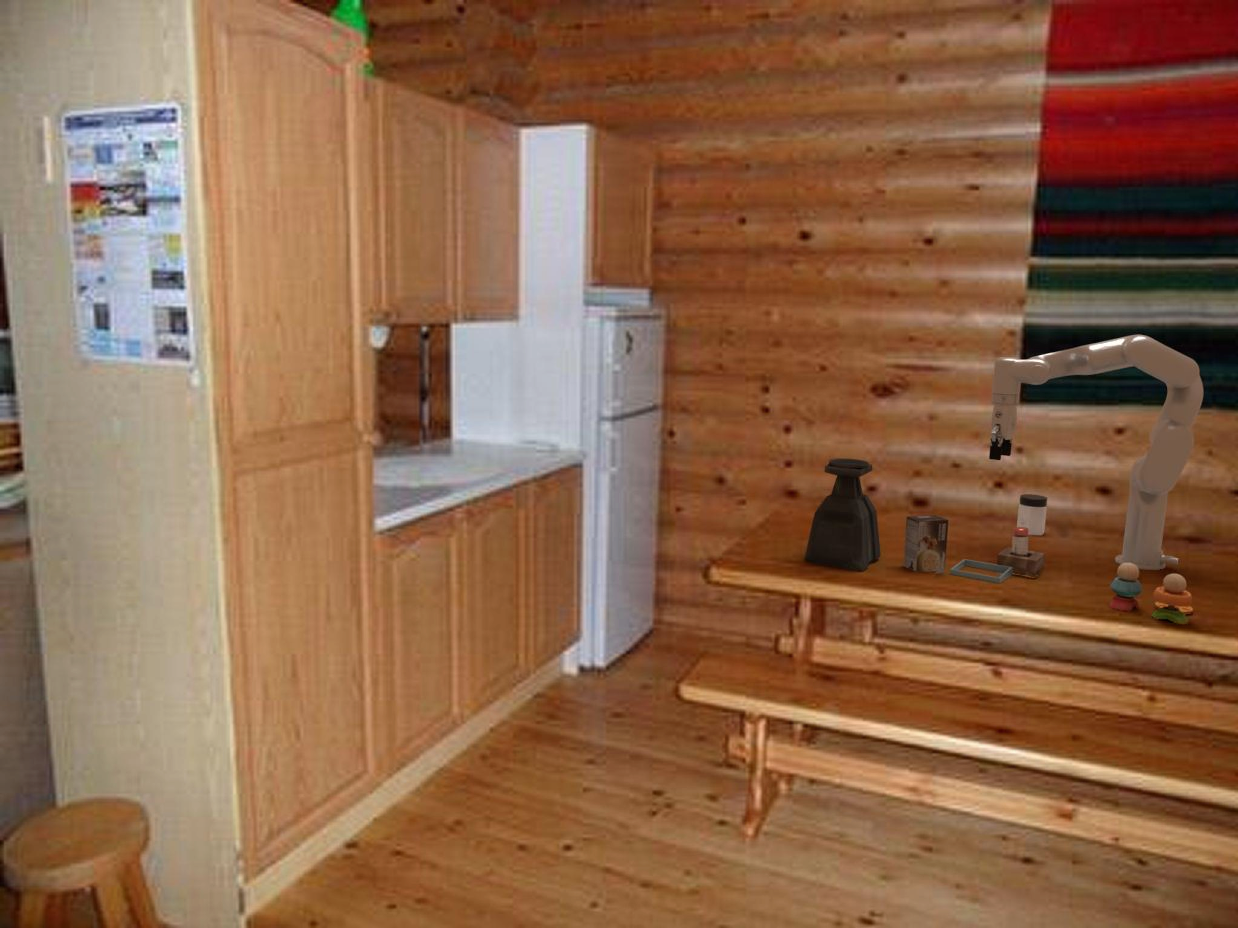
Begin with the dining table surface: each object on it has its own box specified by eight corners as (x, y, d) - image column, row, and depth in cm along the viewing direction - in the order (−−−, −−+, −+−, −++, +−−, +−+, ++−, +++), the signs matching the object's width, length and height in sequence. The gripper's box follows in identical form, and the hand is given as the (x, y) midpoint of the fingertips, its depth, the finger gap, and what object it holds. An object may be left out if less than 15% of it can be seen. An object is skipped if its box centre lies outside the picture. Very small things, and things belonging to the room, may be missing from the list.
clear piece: (1028, 569, 263) (1030, 527, 261) (1025, 573, 259) (1026, 530, 258) (1013, 568, 265) (1014, 526, 263) (1009, 571, 262) (1011, 529, 260)
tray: (1011, 576, 257) (1012, 567, 257) (999, 587, 247) (1000, 578, 246) (963, 567, 265) (963, 558, 264) (949, 578, 254) (949, 569, 254)
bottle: (824, 556, 273) (830, 454, 268) (880, 565, 265) (888, 460, 260) (802, 571, 258) (808, 463, 253) (861, 581, 250) (869, 470, 245)
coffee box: (931, 570, 261) (935, 514, 258) (945, 577, 255) (949, 519, 252) (901, 572, 258) (906, 515, 256) (915, 579, 252) (919, 521, 250)
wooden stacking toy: (1201, 615, 228) (1208, 566, 226) (1184, 633, 216) (1191, 581, 213) (1120, 598, 240) (1125, 551, 238) (1099, 614, 228) (1105, 564, 225)
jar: (1010, 530, 308) (1013, 495, 306) (1027, 528, 312) (1030, 492, 310) (1033, 537, 300) (1037, 500, 298) (1050, 534, 304) (1054, 498, 302)
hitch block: (1042, 570, 263) (1044, 553, 262) (1034, 578, 255) (1036, 560, 254) (1005, 563, 269) (1006, 546, 268) (996, 571, 261) (997, 554, 260)
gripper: (1009, 403, 267) (1004, 462, 270) (1026, 398, 280) (1021, 455, 283) (982, 401, 271) (977, 459, 275) (1000, 396, 285) (995, 452, 288)
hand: (999, 457), depth 279 cm, fingers open, 9 cm apart
